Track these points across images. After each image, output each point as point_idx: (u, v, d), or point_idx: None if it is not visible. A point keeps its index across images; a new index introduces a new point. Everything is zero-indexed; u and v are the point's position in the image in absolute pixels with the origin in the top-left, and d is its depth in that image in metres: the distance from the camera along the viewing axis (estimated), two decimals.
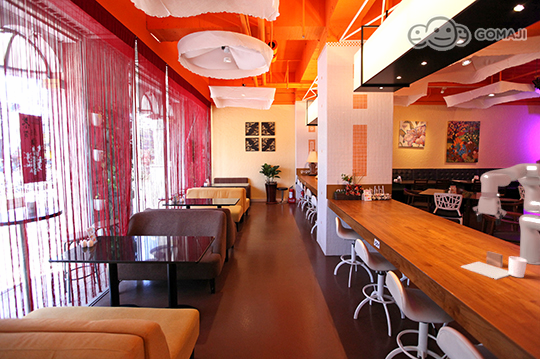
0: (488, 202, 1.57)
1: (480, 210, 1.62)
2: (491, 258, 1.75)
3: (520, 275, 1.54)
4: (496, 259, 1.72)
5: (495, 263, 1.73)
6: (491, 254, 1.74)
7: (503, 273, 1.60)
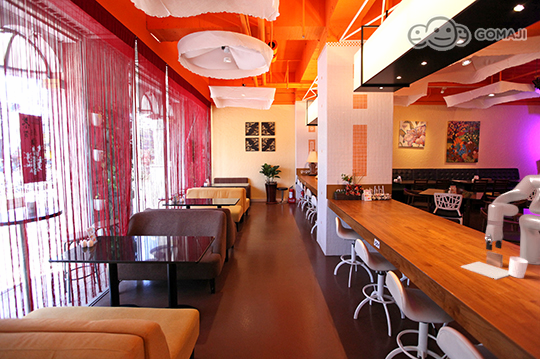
0: (500, 229, 1.71)
1: (494, 239, 1.70)
2: (491, 258, 1.75)
3: (520, 276, 1.54)
4: (496, 259, 1.72)
5: (495, 263, 1.73)
6: (491, 254, 1.74)
7: (503, 273, 1.60)
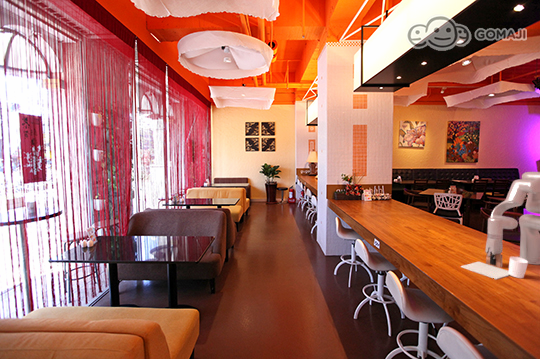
0: (500, 243, 1.71)
1: (495, 252, 1.70)
2: None
3: (520, 276, 1.54)
4: (496, 259, 1.72)
5: None
6: None
7: (503, 273, 1.60)
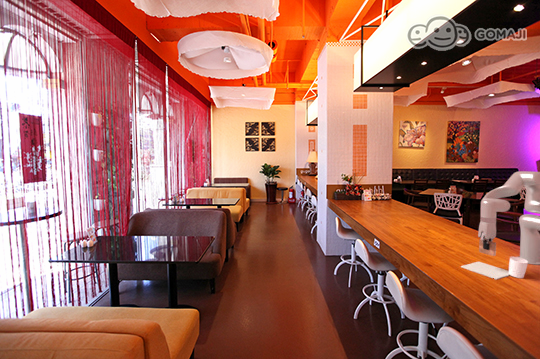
0: (493, 227, 1.63)
1: (488, 236, 1.62)
2: None
3: (520, 276, 1.54)
4: (489, 247, 1.64)
5: (488, 251, 1.64)
6: None
7: (503, 273, 1.60)
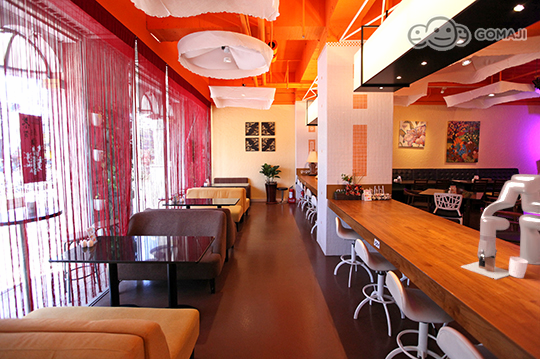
0: (493, 245, 1.64)
1: (487, 255, 1.63)
2: None
3: (520, 276, 1.54)
4: (488, 263, 1.64)
5: (487, 267, 1.65)
6: None
7: (503, 273, 1.60)
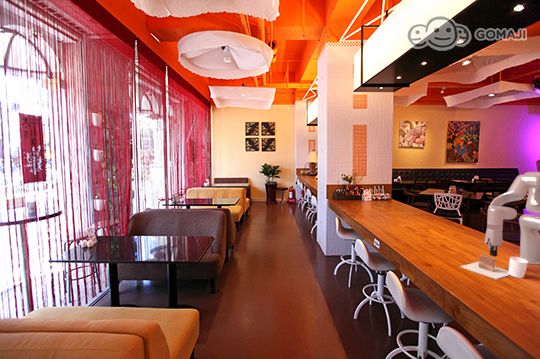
0: (500, 234, 1.66)
1: (494, 243, 1.65)
2: (483, 262, 1.67)
3: (520, 276, 1.54)
4: (488, 263, 1.64)
5: (487, 267, 1.65)
6: (483, 258, 1.67)
7: (503, 273, 1.60)
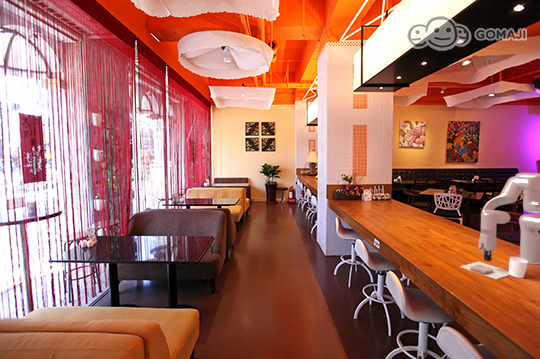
0: (493, 238, 1.64)
1: (488, 248, 1.63)
2: None
3: (520, 276, 1.54)
4: None
5: None
6: None
7: (503, 273, 1.60)
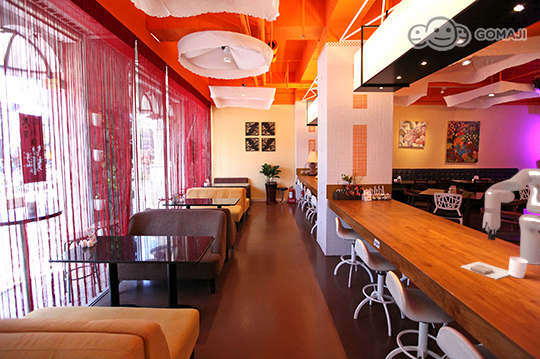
0: (497, 217, 1.64)
1: (492, 227, 1.63)
2: None
3: (520, 276, 1.54)
4: None
5: None
6: None
7: (503, 273, 1.60)
